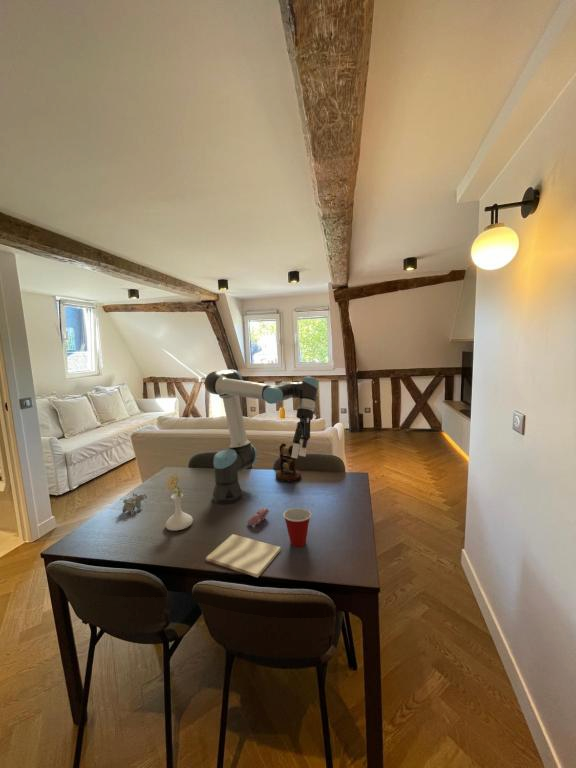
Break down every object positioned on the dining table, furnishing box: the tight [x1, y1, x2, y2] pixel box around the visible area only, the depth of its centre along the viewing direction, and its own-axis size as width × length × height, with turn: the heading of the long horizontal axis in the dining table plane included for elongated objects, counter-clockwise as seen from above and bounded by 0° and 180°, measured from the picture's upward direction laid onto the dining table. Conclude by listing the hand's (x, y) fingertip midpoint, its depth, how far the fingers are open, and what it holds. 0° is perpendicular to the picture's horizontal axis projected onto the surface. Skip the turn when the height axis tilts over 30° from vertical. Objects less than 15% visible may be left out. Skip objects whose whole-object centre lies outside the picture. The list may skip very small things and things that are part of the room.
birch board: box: [205, 533, 282, 578], centre depth 121 cm, size 22×16×1 cm
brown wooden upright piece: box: [275, 442, 302, 484], centre depth 188 cm, size 15×15×20 cm
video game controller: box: [246, 507, 270, 527], centre depth 143 cm, size 10×5×7 cm, turn 148°
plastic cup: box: [282, 507, 312, 548], centre depth 127 cm, size 11×11×12 cm
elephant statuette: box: [122, 492, 148, 516], centre depth 159 cm, size 9×12×8 cm
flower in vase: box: [165, 472, 194, 532], centre depth 141 cm, size 13×11×25 cm
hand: (297, 457), depth 143 cm, fingers open, 13 cm apart
